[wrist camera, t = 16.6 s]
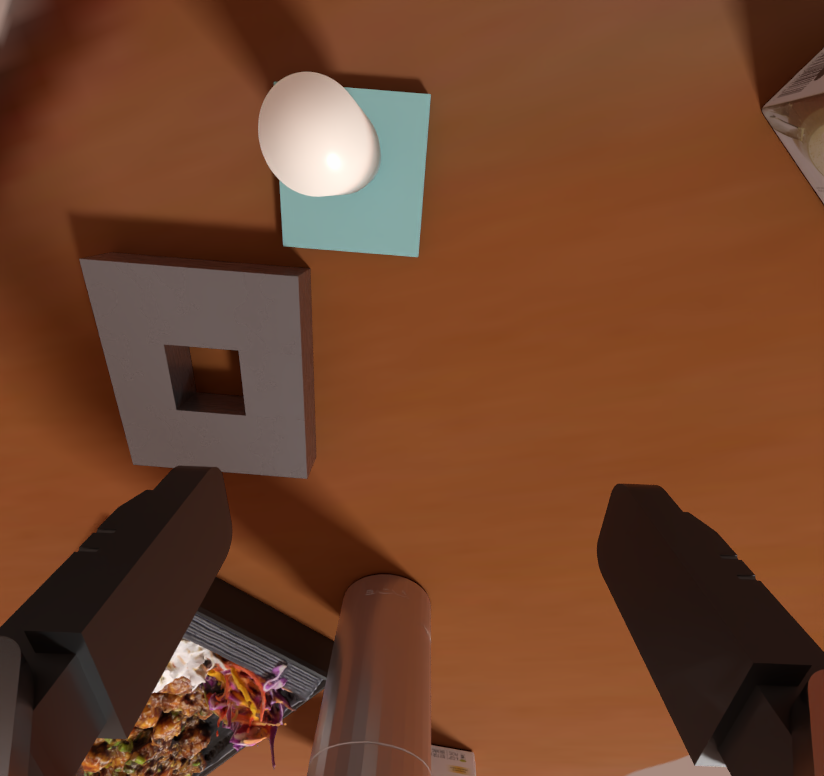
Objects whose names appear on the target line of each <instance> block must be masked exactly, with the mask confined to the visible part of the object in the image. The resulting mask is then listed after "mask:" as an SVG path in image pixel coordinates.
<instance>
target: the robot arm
mask: <svg viewBox="0 0 824 776" xmlns="http://www.w3.org/2000/svg"><path fill="white" fill-rule="evenodd" d="M231 540H232V523H231V517H230V512H229V506H228V501H227V495H226V490H225V484H224V479H223V474H222V472H221V470H220V469H219V468H218V467H206V466H176V467H175V468H173V469H172V470H171V471H170V472H169V473H168V475H167V476H166V477H165V478H164V479H163V480H162V481H161V482H160V483H159V484H158V485H157V486H156V488H155V489H154V490H146V491H144V492H142V493H141V494H139V495H137V496H136V497H134V498H133V499H131V500H129V501H128V502H126V503H125V504H123V505H121V506H120V507H118V508H117V509H116V510H115V511H114V512H113V513H112V514H111V515H110V516H109V517H108V518H107V519H106V520H105V521H104V522H103V523H102V524H101V526H100V527H99V528H98V530H97V533H93V534H92V535H91V536H90V537H89V538H88V539H87V540H86V541H85V542H84V543H83V544H82V545H81V546H80V547H79V551H78V552H74V553H73V554H72V555H71V556H70V557H69V558H68V559H67V560H66V561H65V562H64V563H63V564H62V565H61V566H60V567H59V568H58V569H57V570H56V571H55V572H54V573H53V574H52V575H51V576H50V577H49V578H48V579H47V580H46V581H45V582H44V583H43V584H42V585H41V586H40V587H39V589H38V590H37V591H36V592H35V593H34V594H33V595H32V596H31V597H30V598H29V599H28V600H27V601H26V602H25V603H24V604H23V605H22V606H21V607H20V608H19V609H18V610H17V611H16V612H15V613H14V614H13V615H12V616H11V617H10V618H9V619H8V620H7V621H6V622H5V623H4V624H3V625H2V626H1V627H0V776H84V769H83V766H82V762H83V761H84V759H85V757H86V756H87V754H88V752H89V751H90V749H91V747H92V746H93V744H94V742H95V741H96V739H97V738H104V739H128V737H129V735H130V733H131V732H132V730H133V728H134V726H135V724H136V722H137V721H138V719H139V717H140V715H141V713H142V711H143V709H144V708H145V706H146V704H147V702H148V700H149V698H150V697H151V695H152V693H153V691H154V689H155V687H156V686H157V684H158V682H159V680H160V678H161V676H162V675H163V673H164V671H165V669H166V667H167V665H168V664H169V662H170V660H171V658H172V656H173V654H174V652H175V651H176V649H177V647H178V645H179V643H180V641H181V640H182V638H183V636H184V634H185V632H186V630H187V629H188V627H189V625H190V623H191V621H192V619H193V618H194V616H195V614H196V612H197V610H198V608H199V607H200V605H201V603H202V601H203V599H204V597H205V596H206V594H207V592H208V590H209V588H210V586H211V584H212V583H213V581H214V579H215V577H216V575H217V573H218V572H219V570H220V568H221V566H222V564H223V562H224V561H225V559H226V557H227V554H228V552H229V549H230V545H231ZM597 558H598V564H599V568H600V571H601V573H602V576H603V578H604V580H605V582H606V584H607V586H608V588H609V590H610V592H611V594H612V596H613V598H614V600H615V602H616V604H617V607H618V609H619V611H620V613H621V615H622V617H623V619H624V621H625V623H626V625H627V627H628V629H629V631H630V633H631V635H632V637H633V640H634V642H635V644H636V646H637V648H638V650H639V652H640V654H641V656H642V658H643V660H644V662H645V664H646V666H647V668H648V670H649V672H650V675H651V677H652V679H653V681H654V683H655V685H656V687H657V689H658V691H659V693H660V695H661V697H662V699H663V701H664V703H665V705H666V707H667V710H668V712H669V714H670V716H671V718H672V720H673V722H674V724H675V726H676V728H677V730H678V732H679V734H680V736H681V738H682V740H683V742H684V745H685V747H686V749H687V751H688V753H689V755H690V757H691V759H692V761H693V763H694V765H695V766H715V767H727V768H728V770H729V772H730V774H731V776H824V652H823V651H822V650H821V648H820V647H819V646H818V645H817V644H816V643H815V642H814V641H813V639H812V638H811V637H810V636H809V635H808V634H807V633H806V632H805V630H804V629H803V628H802V627H801V626H800V625H799V624H798V623H797V622H796V620H795V619H794V618H793V617H792V616H791V615H790V614H789V613H788V611H787V610H786V609H785V608H784V607H783V606H782V605H781V604H780V603H779V601H778V600H777V599H776V598H775V597H774V596H773V595H772V594H771V592H770V591H769V590H768V589H767V588H766V587H765V586H764V585H763V583H762V582H761V581H757V580H756V579H755V575H754V573H753V572H752V571H751V570H750V569H749V568H748V567H747V566H746V564H745V563H744V562H743V561H742V560H738V558H737V554H736V553H735V552H734V551H733V550H732V549H731V548H730V547H729V545H728V544H727V543H726V542H725V541H724V540H723V539H722V538H721V536H720V535H719V534H718V533H717V532H716V531H714V530H713V529H712V528H710V527H709V526H707V525H706V524H704V523H703V522H702V521H700V520H699V519H697V518H696V517H695V516H693V515H692V514H690V513H689V512H683V511H682V510H681V509H680V508H679V507H678V505H677V504H676V503H675V502H674V501H673V499H672V498H671V497H670V496H669V495H668V493H667V492H666V491H665V490H664V489H663V488H662V487H660V486H658V485H641V484H617V485H616V486H615V487H614V488H613V490H612V493H611V496H610V499H609V503H608V507H607V510H606V514H605V517H604V521H603V524H602V528H601V531H600V535H599V538H598V543H597ZM307 776H431V605H430V599H429V597H428V595H427V593H426V592H425V591H424V590H423V589H422V588H421V587H420V586H419V585H417V584H416V583H415V582H413V581H411V580H409V579H406V578H403V577H400V576H396V575H389V574H379V575H372V576H368V577H365V578H362V579H360V580H358V581H356V582H354V583H353V584H352V585H351V586H350V587H349V588H348V589H347V591H346V592H345V595H344V598H343V603H342V608H341V612H340V617H339V622H338V627H337V631H336V636H335V641H334V645H333V650H332V655H331V660H330V665H329V670H328V675H327V679H326V684H325V689H324V694H323V699H322V704H321V709H320V713H319V718H318V723H317V728H316V733H315V738H314V743H313V747H312V752H311V757H310V762H309V768H308V773H307Z"/></svg>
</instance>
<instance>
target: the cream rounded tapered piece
mask: <svg viewBox="0 0 824 776" xmlns="http://www.w3.org/2000/svg"><path fill="white" fill-rule="evenodd" d="M258 135H259V142H260V146H261V150H262V153H263V156H264V158H265V160H266V162H267V164H268V166H269V167H270V169H271V170H272V172H273V173H274V174H275V176H276V177H277V178H278V179H279V180H280V181H281V182H282V183H283V184H285V185H286V186H287V187H289V188H290V189H292V190H294V191H296V192H298V193H300V194H303V195H307V196H314V197H321V196H334V195H346V194H351V193H355V192H357V191H359V190H361V189H362V188H364V187H365V186H366V185H367V184H369V183H370V182H371V181H372V180H373V179H374V178H375V176H376V175H377V173H378V171H379V168H380V164H381V149H380V144H379V139H378V135H377V133H376V130H375V128H374V126H373V124H372V123H371V121H370V120H369V118H368V117H367V116H366V115H365V113H364V112H363V111H362V109H361V108H360V107H359V106H358V104H357V103H356V102H355V100H354V99H353V98H352V97H351V95H350V94H349V93H348V92H347V91H346V90H345V89H344V88H343V87H342V86H341V85H340V84H339V83H337V82H336V81H335V80H333V79H331V78H329V77H328V76H325V75H322V74H320V73H315V72H298V73H294V74H291V75H289V76H286V77H284V78H283V79H281V80H280V81H279V82H277V83H276V84H275V85H274V86H273V87H272V88H271V90H270V91H269V92H268V94H267V96H266V97H265V99H264V102H263V104H262V107H261V110H260V114H259V121H258Z"/></svg>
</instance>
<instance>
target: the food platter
mask: <svg viewBox="0 0 824 776" xmlns="http://www.w3.org/2000/svg"><path fill="white" fill-rule="evenodd" d="M333 645H334V641H332V640H330V639H328V638H327V637H325V636H323V635H321V634H319V633H317V632H316V631H314V630H312V629H310V628H308V627H306V626H305V625H303V624H301V623H299V622H297V621H295V620H294V619H292V618H290V617H288V616H286V615H284V614H283V613H281V612H279V611H277V610H275V609H274V608H272V607H270V606H268V605H266V604H264V603H263V602H261V601H259V600H257V599H255V598H253V597H252V596H250V595H248V594H246V593H244V592H242V591H241V590H239V589H237V588H235V587H233V586H232V585H230V584H228V583H226V582H224V581H222V580H221V579H219V578H217V577H215V579H214V581H213V583H212V584H211V586H210V588H209V590H208V592H207V594H206V596H205V597H204V599H203V601H202V603H201V605H200V607H199V608H198V610H197V612H196V614H195V616H194V618H193V619H192V621H191V623H190V625H189V627H188V629H187V630H186V632H185V634H184V636H183V638H182V640H181V641H180V643H179V645H178V647H177V649H176V651H175V652H174V654H173V656H172V658H171V660H170V662H169V664H168V665H167V667H166V669H165V671H164V673H163V675H162V676H161V678H160V680H159V682H158V684H157V686H156V687H155V689H154V691H153V693H152V695H151V697H150V698H149V700H148V702H147V704H146V706H145V708H144V709H143V711H142V713H141V715H140V717H139V719H138V721H137V722H136V724H135V726H134V728H133V730H132V732H131V733H130V735H129V737H128V739H104V738H97V739H96V741H95V742H94V744H93V746H92V747H91V749H90V751H89V752H88V754H87V756H86V757H85V759H84V761H83V762H82V766H83V769H84V776H206V775H208V774H209V773H211V772H212V771H213V770H215V769H216V768H217V767H219V766H220V765H221V764H223V763H224V762H225V761H227V760H228V759H230V758H231V757H232V756H234V755H235V754H236V753H238V752H239V751H240V750H242V749H243V748H244V747H246V746H253V745H255V744H256V743H258V742H260V741H262V740H263V739H265V738H267V739H269V741H270V748H271V754H272V764H273V769H275V768H274V767H275V761H274V738H275V735H276V732H277V728H278V726H280V725H283V723H282V721H283V719H284V718H285V717H286V716H288V715H289V714H290V713H292V712H293V711H296V710H297V708H299V707H300V706H301V705H303V704H304V703H305V702H307V701H308V700H309V699H311V698H312V697H314V696H315V695H316V694H318V693H319V692H320V691H322V690H323V689H324V688H325V684H326V679H327V675H328V670H329V665H330V660H331V655H332V650H333ZM241 650H242V651H241ZM244 652H245V653H244ZM250 674H251V675H250ZM197 689H198V690H197ZM177 711H178V712H177ZM154 716H155V717H154ZM284 725H286V723H284ZM155 730H156V731H155ZM153 743H154V744H153ZM257 746H258V745H257Z"/></svg>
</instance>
